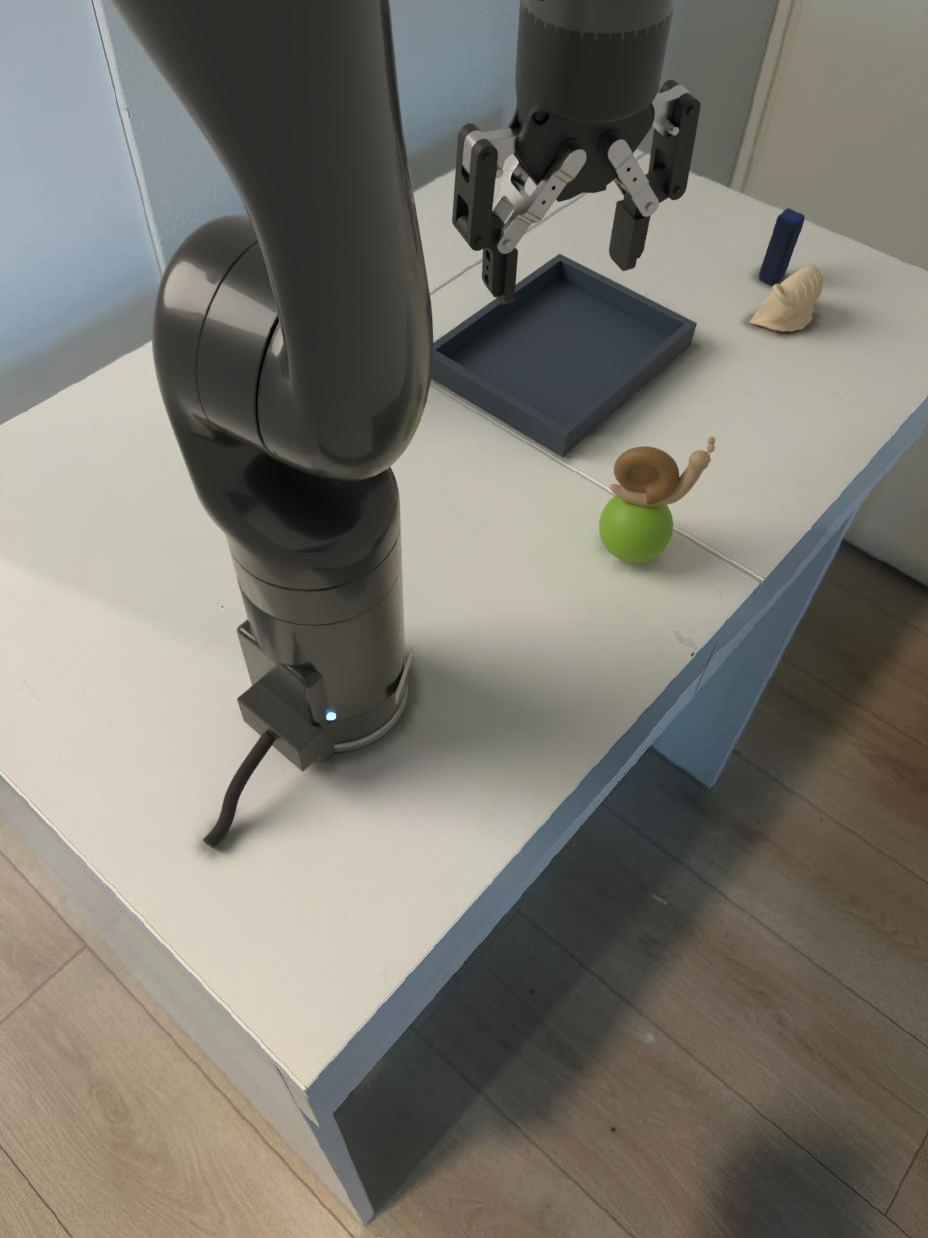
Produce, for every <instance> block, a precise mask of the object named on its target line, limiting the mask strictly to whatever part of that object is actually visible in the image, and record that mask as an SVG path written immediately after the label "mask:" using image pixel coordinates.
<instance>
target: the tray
mask: <svg viewBox="0 0 928 1238" xmlns="http://www.w3.org/2000/svg"><path fill="white" fill-rule="evenodd" d="M697 325H698V323H697V322H696V321H693V320H691V319H690V318H688V317H686V316H685V315H682V314H680V313H678V312H676V311H673V310H672V309H670V308H668V307H666V306H664V305H662V304H661V303H658V302H656V301H655V300H652V299H650V298H648V297H647V296H644V295H642V294H640V293H638V292H636V291H635V290H632V289H631V288H629V287H626V286H625V285H623V284H620V283H618V282H617V281H616V280H613V279H611V278H609V277H607V276H604V275H603V274H601V273H600V272H597V271H595V270H593V269H591V268H589V267H587V266H585V265H583V264H581V263H579V262H578V261H575V260H573V259H571V258H569V257H568V256H565V255H563V254H562V253H558V254H557V255H555V256H554V257H552V258H550V259H549V260H548V261H547V262H545V263H544V264H542V265H541V266H539V267H538V268H537V269H536V270H534V271H532V272H531V273H530V274H528V275H527V276H526V277H524V278H522V279H521V280H520V281H518V282H516V287H515V299H514V301H513V302H509V303H506V304H501V303H500V301H499V300H498V299H497V298H496V297H495V298H494V299H493V300H492V301H490V302H489V303H487V304H486V305H484V306H482V308H480V309H479V310H478V311H476V312H475V313H473V314H471V315H470V316H469V317H468V318H466V319H465V320H464V321H463V320H462V322H460V323H459V324H457V325H456V326H455V327H453V328H452V329H450V330H449V331H448V332H446V333H445V334H443V335H442V336H441V337H439V338H438V339H436V340H435V341H433V348H434V351H433V363H432V374H431V380H434V381H436V382H437V383H439V384H441V385H442V386H443V387H445V388H447V389H448V390H450V391H452V392H453V393H455V394H456V395H459V396H460V397H462V398H464V399H465V400H467V401H468V402H470V403H472V404H473V405H475V406H477V407H479V408H481V409H482V410H484V412H487V413H488V414H490V415H492V416H493V417H495V418H496V419H498V420H500V421H502V422H504V423H505V424H506V425H508V426H510V427H512V428H513V429H515V430H517V431H518V432H520V433H522V434H523V435H524V436H526V437H528V438H530V439H531V440H533V441H535V442H536V443H538V444H540V445H541V446H543V447H545V448H546V449H548V450H549V451H551V452H553V453H554V454H556V455H558V456H559V457H561V458H564V457H565V456H567V455H568V454H569V453H570V452H571V451H573V450H574V449H575V448H576V447H577V446H578V445H579V444H580V443H581V442H582V441H584V440H585V439H586V438H587V437H589V435H591V434H592V433H593V432H594V431H596V429H597V428H598V427H600V426H601V425H602V424H603V423H604V422H605V421H607V420H608V419H609V418H610V417H611V416H612V415H614V413H616V412H617V411H618V410H620V409H621V407H623V406H624V405H625V404H626V403H628V401H630V399H632V398H633V397H634V396H635V395H636V394H637V393H639V392H640V391H641V390H642V389H643V388H645V387H646V386H647V385H649V383H650V382H651V381H653V379H654V378H656V377H657V376H658V375H659V374H660V373H661V372H663V371H664V370H665V369H666V368H667V367H668V366H669V365H671V364H672V363H673V362H674V361H676V359H678V358H679V357H680V356H681V355H682V354H683V353H684V352H685V351H687V350H688V349H689V348H691V346H692V343H693V339H694V336H695V332H696V328H697Z"/></svg>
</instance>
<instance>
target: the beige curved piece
mask: <svg viewBox="0 0 928 1238" xmlns="http://www.w3.org/2000/svg"><path fill="white" fill-rule="evenodd" d="M817 267H818V266H817ZM817 267H816V266H815V265H813V264H812V265H805V266H803V267H801V268H800V269H797V270H796V271H795V272H793V273H792V274H791V275H790V276H788V277H786V278H785V279H784V280H783V281H782V282H781V283H777V284H775V285H774V286H772V291H771V292H770V293H769V295H768V296H767V297H766V298H765V299H764V301H763V302H762V303H761V305H760V306H759V308H758V310H757V311H756V313H755V314H754V315H753V316H752V318H751V319H750V320H749V322H748V323H749V324H752V325H757V326H760V327H763V328H767V329H770V330H771V331H779V332H782V333H783V332H790V333H792V332H795V331H802V330H804V329H805V327H806V326H807V325H809V324H810V323H811V322H812V320H813V314H814V312H815V307H814V305H815V304H816V303H817V301H818V300H819V299H820V297H821V294H822V292H823V288H824V275H823V273H822V272H821V271H820V270H819V269H818V268H817Z"/></svg>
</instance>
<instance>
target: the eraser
mask: <svg viewBox="0 0 928 1238" xmlns="http://www.w3.org/2000/svg"><path fill="white" fill-rule="evenodd" d="M805 217H806V216H805V215H804V214H803V213H801V212H799V211H796V210H794V209H792V208H790V207H787V208H785V209H784V210H783V211H782V212H781V213H780V214H779V215H777V217H776V220H775V223H774V226H773V230H772V234H771V236H770V239H769V242H768V246H767V248H766V251H765V254H764V257H763V261H762V263H761V266H760V270H759V273H758V280H759V281H760V282H762V283H764V284H767V285H769V286H772V287H773V286H774V285H775V284H780V282H781V281H782V280H783V279H784V277H785V275H786V273H787V270H788V268H789V266H790V262H791V260H792V259H791V258H792V256H793V254H794V251H795V248H796V245H797V243H798V241H799V237H800V234H801V232H802V229H803V227H804V223H805V219H806V218H805Z"/></svg>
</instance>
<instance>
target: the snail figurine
mask: <svg viewBox="0 0 928 1238" xmlns="http://www.w3.org/2000/svg"><path fill="white" fill-rule="evenodd" d="M715 444H716V438H715V436H710V437H709V438H707V446H706V450H707V451H705V450H701V449H699V450H695V451H694V452H692V453H691V454H690V455H689V456H688V465H687V466H686V468H685V469H684V471H683V472H682V473H681V474H680V469H679V466H678V463H677V462H676V460H675V459H674V458H673V457H672V456H671V455H670V454H669V453H668V452H666V451H665V450H662V449H660V448H657V447H654V446H646V445H642V446H636V447H632V448H629V449H627V450H625V451H624V452H622V453H621V454H620V455H619V456H618V457H617V459H615V462H614V465H613V475H614V478H615V480H616V481H617V483H618V484H617V483H611V484H610V485H609V489H610V490H611V492H612V494H614V496H613V497H612V498H610V500H609V501H608V502H607V503H606V504H605V506H604V507H603V509H602V511H601V513H600V517H599V520H598V521H599V522H598V532H599V536H600V539H601V542H602V545H603V546H604V547H605V548H606V550H607V551H608V552H609V553H610V554H611V555H612V556H614V557H615V558H617V559H618V560H620V561H623V562H627V563H633V564H634V563H635V564H636V563H645V562H647V561H650V560H652V559H654V558H656V557H658V556H659V555H660V554H661V553H663V551H664V550H665V549H666V548H667V547H668V545H669V543H670V542H671V539H672V536H673V532H674V519H673V515H672V514H673V513H672V511H671V510H670V507H669V506H668V505H672V504H675V503H678V502H679V501H680V500H682V499H683V498H684V497H685V496H687V494H689V492H690V491H691V490H692V489H693V488H694V486H695V485H696V483H697V482H698V480H699V478H700V477H701V475H702V474H703V472H704V471H705V470H706V469H707V468H708V467H709V464H710V463H711V461H712V459H711V453H713V452H715V449H716V446H715Z"/></svg>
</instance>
